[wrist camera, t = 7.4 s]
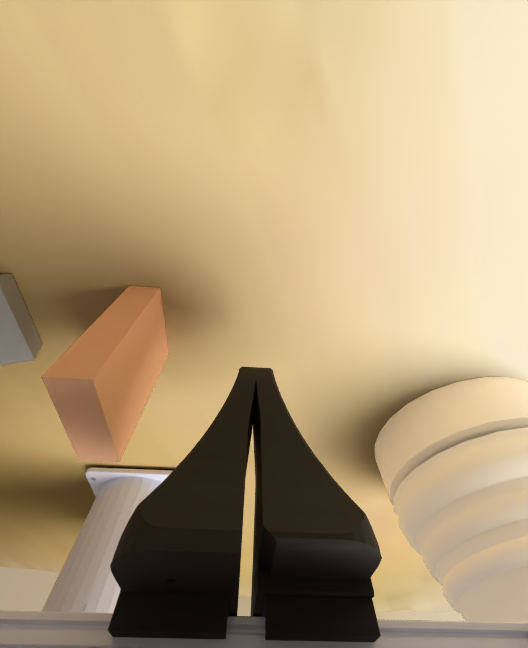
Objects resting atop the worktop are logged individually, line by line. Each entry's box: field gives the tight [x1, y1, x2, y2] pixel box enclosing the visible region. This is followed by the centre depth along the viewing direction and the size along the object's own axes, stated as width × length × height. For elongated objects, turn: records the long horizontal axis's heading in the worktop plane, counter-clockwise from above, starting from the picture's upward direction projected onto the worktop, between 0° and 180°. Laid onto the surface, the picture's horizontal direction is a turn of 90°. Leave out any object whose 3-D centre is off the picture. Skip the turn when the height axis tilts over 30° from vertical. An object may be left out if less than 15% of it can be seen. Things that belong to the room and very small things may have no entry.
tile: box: [42, 286, 169, 462], centre depth 13 cm, size 4×2×7 cm, turn 176°
